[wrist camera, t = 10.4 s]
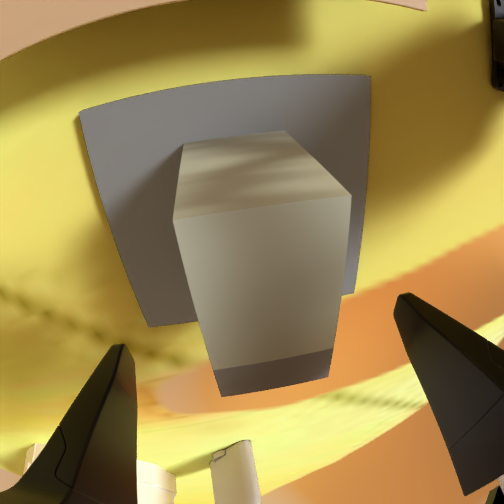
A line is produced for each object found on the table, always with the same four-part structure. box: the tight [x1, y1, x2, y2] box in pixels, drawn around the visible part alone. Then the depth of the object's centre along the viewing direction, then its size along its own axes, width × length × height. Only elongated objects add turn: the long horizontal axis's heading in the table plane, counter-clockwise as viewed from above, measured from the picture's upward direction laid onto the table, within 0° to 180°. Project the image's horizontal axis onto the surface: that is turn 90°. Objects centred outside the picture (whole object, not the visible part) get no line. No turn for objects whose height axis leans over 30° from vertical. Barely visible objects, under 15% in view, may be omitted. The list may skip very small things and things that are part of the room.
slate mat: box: [79, 74, 371, 327], centre depth 16 cm, size 13×13×1 cm
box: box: [173, 131, 352, 397], centre depth 13 cm, size 4×8×7 cm, turn 5°
